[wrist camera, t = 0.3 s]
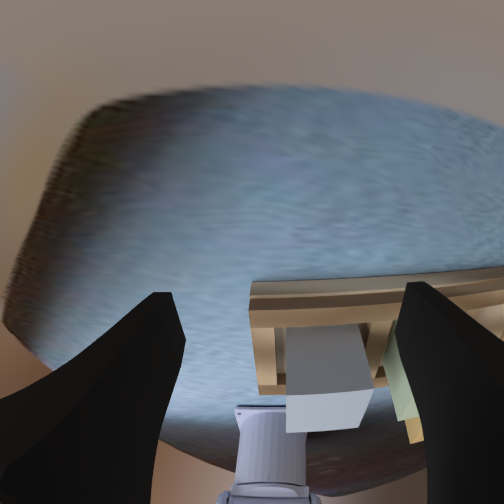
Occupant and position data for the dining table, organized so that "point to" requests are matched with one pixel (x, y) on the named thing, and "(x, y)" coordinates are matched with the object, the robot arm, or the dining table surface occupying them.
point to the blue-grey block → (326, 378)
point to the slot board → (358, 313)
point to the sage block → (398, 380)
